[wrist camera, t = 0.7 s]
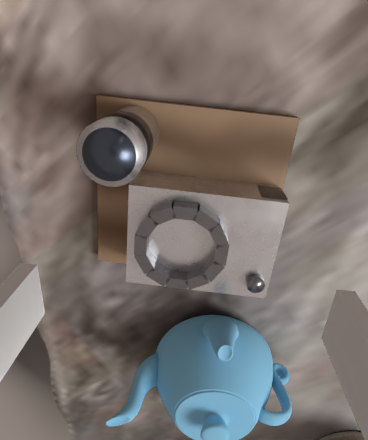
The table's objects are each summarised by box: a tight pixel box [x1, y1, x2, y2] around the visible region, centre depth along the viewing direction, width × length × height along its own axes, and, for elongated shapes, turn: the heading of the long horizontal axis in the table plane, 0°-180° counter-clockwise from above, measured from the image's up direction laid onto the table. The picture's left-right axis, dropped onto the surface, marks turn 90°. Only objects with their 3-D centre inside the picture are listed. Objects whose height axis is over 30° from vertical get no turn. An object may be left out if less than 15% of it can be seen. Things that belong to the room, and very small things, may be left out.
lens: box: [76, 105, 160, 187], centre depth 29 cm, size 5×5×10 cm
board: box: [96, 95, 300, 263], centre depth 37 cm, size 19×20×1 cm
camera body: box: [126, 170, 289, 298], centre depth 34 cm, size 11×15×6 cm
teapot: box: [106, 315, 292, 440], centre depth 41 cm, size 17×19×12 cm
